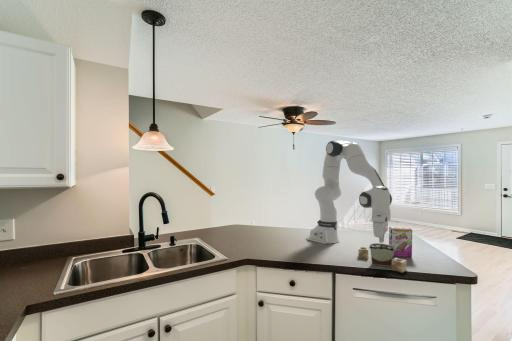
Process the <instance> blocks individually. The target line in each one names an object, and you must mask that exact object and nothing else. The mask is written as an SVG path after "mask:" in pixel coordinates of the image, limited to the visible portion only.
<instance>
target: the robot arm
mask: <svg viewBox="0 0 512 341" xmlns="http://www.w3.org/2000/svg"><path fill="white" fill-rule="evenodd" d="M326 144H327V145H325V152H326V154H325V157H324V161H323V169H322V176H321V177H322V178H323V182H324V185H322V186H320V187H318V188H317V189H316V190H315V192H314V196H315V199H316V200H317V203H318V206H319V210H320V213H319V214H320V219H319V220H318V221H317V222H316V223H317V225H316V226H314V227H313V228H312V229H310V231H309V235H308V236H306V240H308V241H311V242H315V243H319V244H324V245H325V244H326V245H327V244H337V243H339V242H340V240H339V236H338V220H337V218H338V217H337V216H338V215H337V214H338V213H337V208H335V204H334V201H336V200H338V199H339V198H340V197H341V195H342V190H341V188H340V180H339V179H340V169H341V161H342V159H345V160H346V164H347V167H348V169H349V170H350V172H352V173H353V174H355V175H358V176H362V177H364V178H365V179H367V180H368V181H369V182H370V184H371V186H372V187H371V188H370V189H369V190H365V191H362V192H361V193H360V194H359V197H358V201H359V204H360V206H361V207H362V208H363V209H364V208H366V209H371V222H372V227H373V228H372V230H373V235H374V238H378V239H379V240H378V242H379V244H384V241H385V234H386V233H387V232H388V231H389V222H390V221H391V208H390V206H391V204H392V202H393V198H392V195H391V193H390V189H389V188H388V187H386V186H385V185H384V183H383V181H382V179H381V177H380V175H379V173H378V172H377V170H376V168H375V167H374V166H372V165H371V164H370V163H369V161H368V160H367V158H366V155H365V152H364V151H363V149H362V147H361V146H360V144H359V143H356V142H351V141H346V140H331V141H329V142H328V143H326Z"/></svg>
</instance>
